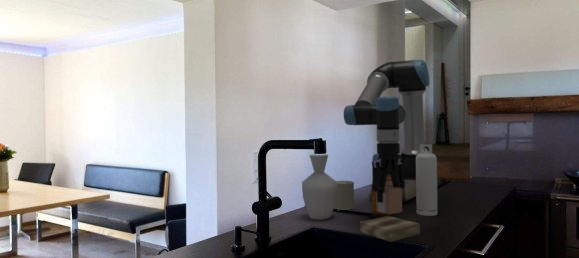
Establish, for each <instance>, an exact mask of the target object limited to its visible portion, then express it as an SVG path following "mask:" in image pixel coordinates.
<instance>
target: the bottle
mask: <svg viewBox="0 0 579 258" xmlns="http://www.w3.org/2000/svg"><path fill="white" fill-rule="evenodd" d="M423 147H425V148H426V147H427V148H426V149H425V151H424V150H423ZM428 149H429V150H428ZM427 150H428V152H427ZM415 188H416V189H415V194H416V201H415V202H416V214H418V215H419V216H427V217H428V216H429V217H430V216H433V217H434V216H437V215H438V158H437V156H436V154H434V153H433V144H428V143H427V144H425V143H424V144H422V145H420V154H418V155H417V156H416V180H415Z"/></svg>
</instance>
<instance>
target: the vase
mask: <svg viewBox="0 0 579 258" xmlns="http://www.w3.org/2000/svg"><path fill="white" fill-rule="evenodd" d="M316 154H317V153H316ZM316 154H313V153H312V154H309V158H310V161H311V165H312V168H313V169H312V170H313V172H312V173H311V174H310V175H308V176H307V177H306V178H305V179H304V180H303V181H301V190H302V198H303V203H304V206H305V208H306V211H307V214H308V216H309V218H310V219H311V220H319V221H320V220H326V219H327V220H328V219H329V218H331V217H332V215H333V212H334V205H335V201H336V196H337V182H336V181H337V180H335V179H334V178H332V177H331V176H330V175H329V174H327V173H326V172H325V169H326V166H327V161H328V158H329V154H325V153H322V154H323V155H316Z"/></svg>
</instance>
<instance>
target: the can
mask: <svg viewBox="0 0 579 258" xmlns="http://www.w3.org/2000/svg"><path fill="white" fill-rule="evenodd" d="M335 181H336V182H337V196H336V201H335V205H334V208H333V210H335V209H337V210H336V211H340V210H349V211H351V210H350V209H353V210H355V209H354V208H355V182H354V181H352V180H335Z"/></svg>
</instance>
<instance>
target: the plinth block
mask: <svg viewBox="0 0 579 258" xmlns="http://www.w3.org/2000/svg"><path fill="white" fill-rule="evenodd" d="M359 233H361V234H365V235H368V236H370V237H374V238H377V239H381V240H383V241H386V242H390V243H393V242H396V241H399V240H400V239H401V240H404V239H407V237H408V238H411V237H415V236H419V235H421V223H419V222H414V221H411V220H406V219H403V218H398V217H396V216H395V217H391V216H385V217H380V218H372V219H368V220H362V221H359ZM403 238H404V239H403ZM401 240H400V241H401Z"/></svg>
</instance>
